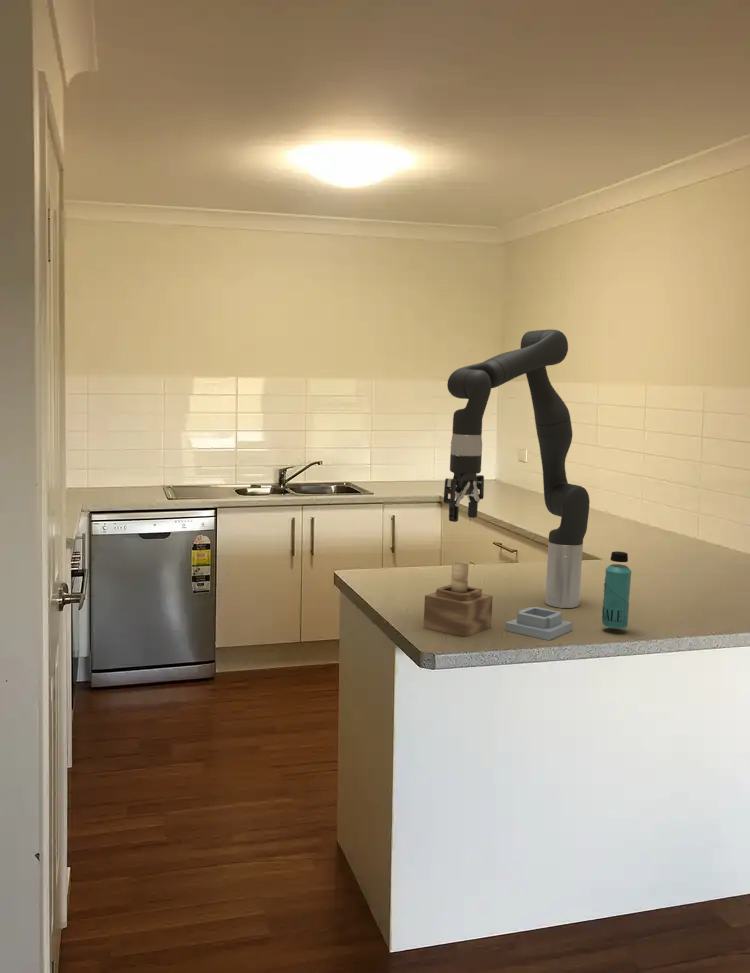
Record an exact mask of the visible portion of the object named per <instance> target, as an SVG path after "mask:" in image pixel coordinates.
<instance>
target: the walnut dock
mask: <svg viewBox="0 0 750 973" xmlns="http://www.w3.org/2000/svg"><path fill="white" fill-rule="evenodd" d="M493 598H494V596H493V595H490V594H487V593H483V589H482V588H478V587H472V586H468V588H467V593H464V594H461V593H456V592H451V584H448V585H444V586H441V587H438V588H436V591H435V592H433V593H429V594H425V595H424V609H423V628H424V629H429V630H434V631H437V632H441V633H446V634H449V635H450V634H451V635H454V636H458V637H462V638H466V637H467V638H468V637H469V636H471V635H474V634H477V633H480V632H483V631H486V630H488V629H491V628H492V617H493V616H492V615H493Z"/></svg>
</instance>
